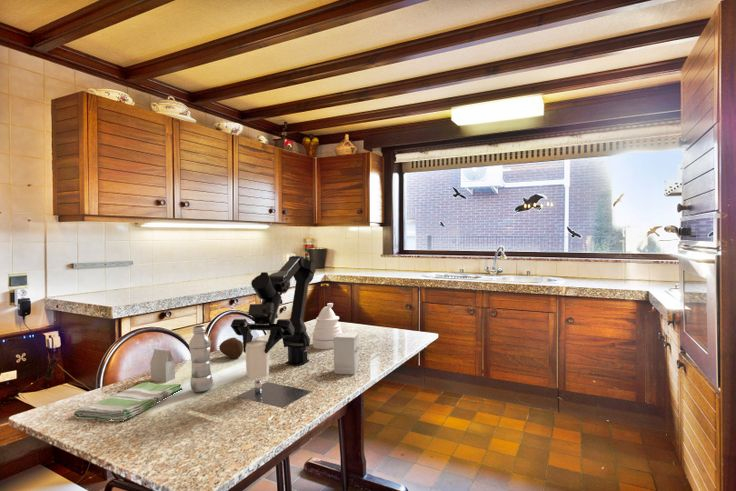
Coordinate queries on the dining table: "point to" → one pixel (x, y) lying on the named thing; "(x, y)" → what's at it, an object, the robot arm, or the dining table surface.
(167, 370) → the grey gabled carton
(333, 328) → the honey pot
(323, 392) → the dining table surface
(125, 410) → the dish towel
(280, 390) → the plate
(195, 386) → the plastic bottle
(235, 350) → the potato
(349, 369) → the supplement box
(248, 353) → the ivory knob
